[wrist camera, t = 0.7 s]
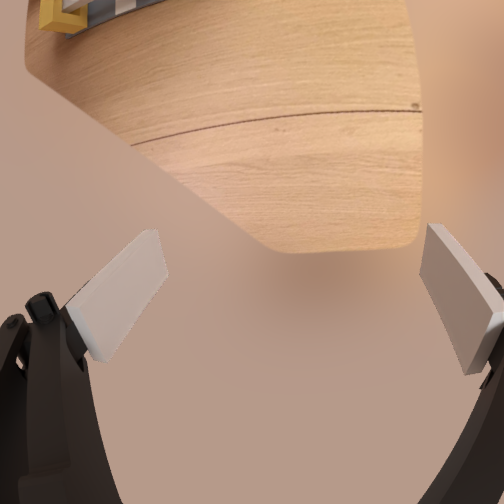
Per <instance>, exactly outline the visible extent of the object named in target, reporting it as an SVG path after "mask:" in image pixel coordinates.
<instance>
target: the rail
mask: <svg viewBox="0 0 504 504" xmlns="http://www.w3.org/2000/svg"><path fill="white" fill-rule="evenodd" d="M161 1H164V0H62V11H61V12H62V13H68V14H69V13H70V12H72V11H74V10H76V9H78V8H80V7H82V6H84V5H86V4H88V14H87V28H84V29H82V30H80V31H78V32H76V33H74V34H71V33H66V39H69V38H71V37H73V36H75V35H77V34H79V33H81V32H83V31H86V30H88V29H90V28H92V27H94V26H96V25H99V24H101V23H103V22H106V21H108V20H110V19H113V18H115V17H118V16H120V15H123V14H126V13H128V12H131V11H134V10H136V9H139V8H142V7H145V6H148V5H151V4H155V3H158V2H161Z"/></svg>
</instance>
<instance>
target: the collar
mask: <svg viewBox="0 0 504 504" xmlns="http://www.w3.org/2000/svg"><path fill="white" fill-rule="evenodd" d="M61 11H62V0H41V3H40V15H39V30H45V31H55V32H63V33H71V34H74V33H76V32H78V31H80V30H82V29H84V28H87V14H88V4H86V5H84V6H82V7H80V8H78V9H76V10H74V11H72V12H70V13H69V14H68V13H62V12H61Z"/></svg>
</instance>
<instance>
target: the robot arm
mask: <svg viewBox="0 0 504 504" xmlns="http://www.w3.org/2000/svg"><path fill="white" fill-rule="evenodd" d="M419 275H420V277H421V279H422V280H423V282H424V284H425V286H426V288H427V290H428V292H429V294H430V296H431V298H432V300H433V302H434V305H435V306H436V309H437V311H438V313H439V315H440V317H441V319H442V321H443V324H444V326H445V328H446V331H447V333H448V335H449V337H450V340H451V342H452V345H453V347H454V350H455V352H456V355H457V357H458V360H459V362H460V364H461V367H462V370H463V373H464V375H470V374H475V373H480V372H482V370H483V368H484V366H485V365H486V363H487V361H489V364H490V366H491V370H490V372H489V373H488V375H487V377H486V379H485V380H484V382H483V383H482V385H481V387H480V388H479V389H481V393H480V396H479V398H478V400H477V402H476V404H475V407H474V409H473V411H472V413H471V415H470V418H469V419H468V422H467V424H466V426H465V428H464V430H463V432H462V433H461V435H460V437H459V439H458V441H457V443H456V445H455V446H454V448H453V450H452V452H451V454H450V455H449V457H448V459H447V460H446V462H445V464H444V465H443V467H442V468H441V470H440V472H439V473H438V475H437V476H436V478H435V479H434V481H433V482H432V484H431V485H430V487H429V488H428V490H427V491H426V493H425V494H424V495H423V497H422V498H421V499H420V501H419V502H418V504H497V503H498V502H499V499H500V497H501V495H502V493H503V491H504V289H502V286H501V285H500V284H499V282H498V281H497V280H496V279H495V278H493V277H492V276H491V275H489V274H488V273H483V272H482V270H481V269H480V268H479V267H478V265H477V264H476V263H475V262H474V260H473V259H472V258H471V257H470V255H469V254H468V253H467V252H466V251H465V250H464V248H463V247H462V246H461V245H460V244H459V243H458V241H457V240H456V239H455V238H454V237H453V236H452V235H451V233H450V232H449V231H448V230H447V229H446V228H445V227H444V226H443V225H442V224H441V223H427V231H426V238H425V245H424V251H423V257H422V263H421V268H420V274H419ZM168 276H169V275H168V271H167V267H166V263H165V259H164V256H163V252H162V248H161V243H160V240H159V235H158V231H157V229H147V230H143V231H142V232H141V233H140V234H139V235H138V236H137V237H136V238H135V239H133V240H132V241H131V242H130V243H129V244H128V245H127V246H126V247H125V248H124V249H122V250H121V251H120V252H119V253H118V254H117V255H116V256H115V257H114V258H113V259H112V260H111V261H110V262H109V263H108V264H107V265H105V266H104V267H103V268H102V269H101V270H100V271H99V272H98V273H97V274H96V275H95V276H94V277H93V278H92V279H91V280H89V281H88V282H87V283H86V284H85V285H84V286H83V287H82V289H80V290H79V291H78V292H77V294H75V295H74V296H73V297H72V298H71V299H70V300H69V301H68V302H67V303H66V304H65V305H64V306H63V307H62V308H61V309H60V310H59V308H58V306H57V304H56V302H55V300H54V297H53V295H52V293H50V292H42V293H39V294H37V295H35V296H33V297H32V298H31V299H29V301H28V302H27V303H26V305H25V308H26V309H27V311H28V313H29V315H30V317H31V319H32V321H33V323H27V322H26V320H25V318H24V316H23V315H22V314H15V315H11V317H8V318H7V320H5V321H4V323H3V324H2V326H1V327H0V504H123V503H122V502H121V499H120V497H119V494H118V491H117V488H116V485H115V482H114V479H113V476H112V473H111V470H110V467H109V463H108V460H107V457H106V453H105V450H104V446H103V442H102V438H101V434H100V430H99V426H98V421H97V417H96V412H95V407H94V402H93V397H92V391H91V385H90V380H89V373H88V366H87V361H86V359H85V357H84V354H85V352H86V351H87V350H88V351H89V353H90V355H91V356H92V358H93V360H96V361H100V362H104V363H108V362H109V360H110V359H111V357H112V356H113V354H114V353H115V351H116V350H117V348H118V347H119V345H120V344H121V342H122V341H123V340H124V338H125V337H126V335H127V334H128V332H129V331H130V329H131V328H132V327H133V325H134V324H135V322H136V321H137V319H138V318H139V317H140V315H141V314H142V312H143V311H144V309H145V308H146V307H147V305H148V304H149V302H150V301H151V300H152V298H153V297H154V295H155V294H156V293H157V291H158V290H159V288H160V287H161V286H162V284H163V283H164V282H165V280H166V279H167V277H168ZM17 357H18V358H19V360H20V361H21V363H22V364H23V367H22V369H20V368H19V367H18V365H17V363H16V358H17Z"/></svg>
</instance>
